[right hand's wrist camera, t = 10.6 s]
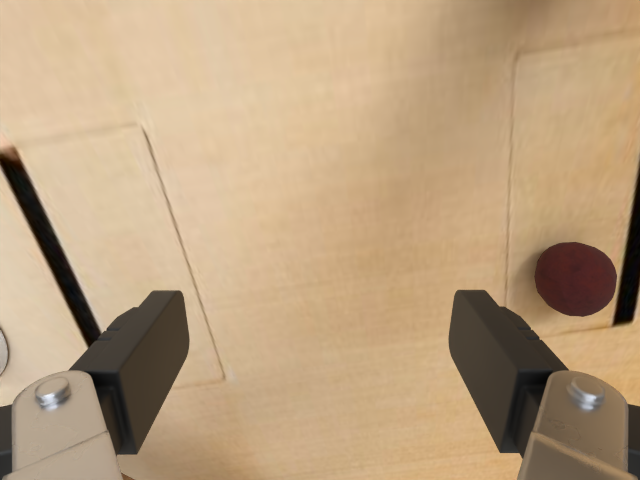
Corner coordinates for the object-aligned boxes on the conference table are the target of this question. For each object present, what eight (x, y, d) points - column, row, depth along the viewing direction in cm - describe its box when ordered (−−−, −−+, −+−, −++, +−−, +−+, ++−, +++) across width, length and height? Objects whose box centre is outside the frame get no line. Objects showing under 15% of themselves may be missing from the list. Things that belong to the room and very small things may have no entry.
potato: (539, 305, 45) (577, 341, 39) (509, 256, 43) (543, 285, 36) (599, 271, 44) (649, 302, 37) (571, 219, 41) (618, 242, 35)
